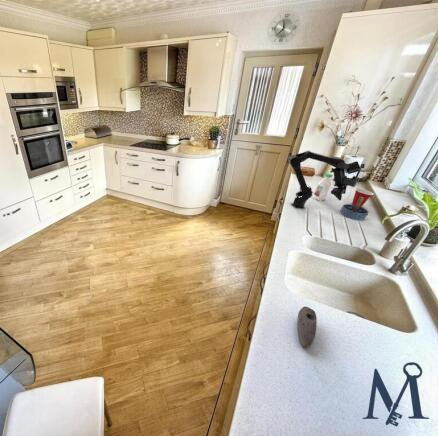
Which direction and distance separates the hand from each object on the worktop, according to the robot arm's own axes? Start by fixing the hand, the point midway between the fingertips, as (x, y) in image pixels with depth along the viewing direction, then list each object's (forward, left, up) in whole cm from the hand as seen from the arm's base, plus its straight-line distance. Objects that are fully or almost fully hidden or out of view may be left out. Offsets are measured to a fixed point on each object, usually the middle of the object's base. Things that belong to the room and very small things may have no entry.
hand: (342, 196), depth 158 cm
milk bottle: (+2, +22, -12) cm, 25 cm away
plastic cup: (+25, +12, -12) cm, 30 cm away
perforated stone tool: (-78, -95, -12) cm, 124 cm away
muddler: (+9, -4, -11) cm, 15 cm away
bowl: (+9, -4, -12) cm, 15 cm away
